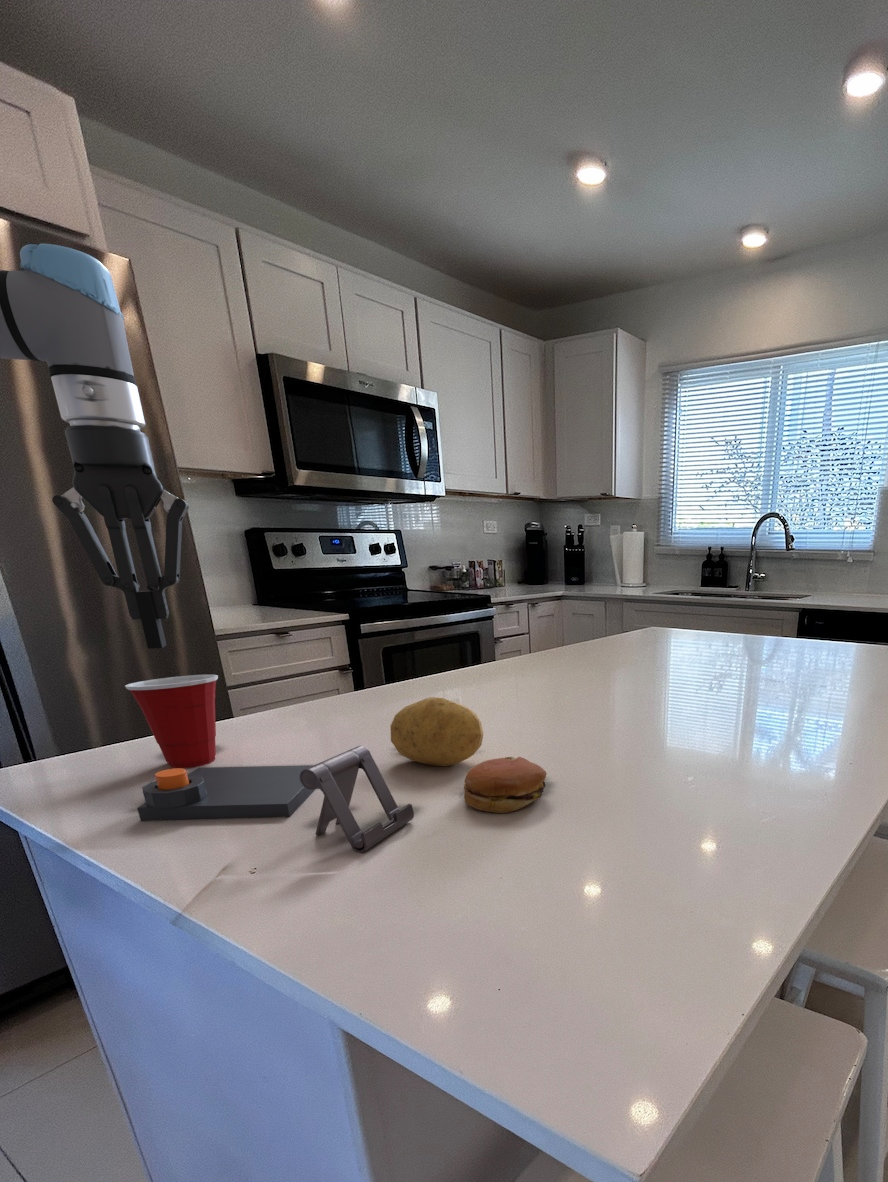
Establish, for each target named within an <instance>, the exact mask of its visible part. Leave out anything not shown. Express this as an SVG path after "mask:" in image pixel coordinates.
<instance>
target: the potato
mask: <svg viewBox="0 0 888 1182" xmlns="http://www.w3.org/2000/svg"><path fill="white" fill-rule="evenodd" d="M482 724H483V723H482V721H481V720H480V718H479V716H478V715H477V713H476V712H474V711H473V710H472V709H470V708H469V707H468V706H465V705H463V704H460V703H458V702H455V701H452V700H449V699H447V698H444V697H433V696H431V697H427V698H424V699H421V700H419V701H415V702H413V703H411V704H408V705H406V706H404V707H403V708H401V709H400V710H399V711H398V712H397V713H395V715H394V718H392V721H391V723H390V742H391V743H392V745H393V746H394V748H395V749H396V751H397V752H398V754H399V755H401V756H403V757H404V758H406V759H408V760H410V761H414V762H417V763H420V764H425V765H429V766H435V767H451V766H454V765H457V764H459V763H461V762H462V763H463V762H464V761H466V760H468V759H470V758H471V757H473V756H474V755H475V754H476V753H477V751H478V750H479V749H480V748H481V746H482V745H483V739H484V731H483V725H482Z"/></svg>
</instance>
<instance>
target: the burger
mask: <svg viewBox="0 0 888 1182" xmlns="http://www.w3.org/2000/svg"><path fill="white" fill-rule="evenodd" d="M547 775H548V773H547V771H546V770H545V769H544V768H543V767H542V766H540V765H539V764H537V763H535V762H531V761H530V760H528V759H526V758H524V757H522V756H517V757H515V756H505V757H499V758H493V759H488V760H484V761H482V762H480V763H477V764H476V765H474V766H472V767H471V768H469V771H468V772H466V775H465V777H464V783H463V792H464V795H463V796H464V797H463V798H464V802H465V804H467V805H468V806H469V807H471V808H474V809H476V810H479V811H483V812H490V813H491V812H492V813H495V814H497V813H498V814H506V813H510V812H511V813H512V812H515V811H518V810H521V809H523V808H524V807H526V806H528V805H530V804H531V803H534V802H535V801H537V800H539V799H540V798H541V797H542V795H543V792H545V791H544V789H545V788H546V786H547V784H546V781H545V780H546V777H547Z"/></svg>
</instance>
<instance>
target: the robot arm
mask: <svg viewBox="0 0 888 1182" xmlns="http://www.w3.org/2000/svg"><path fill="white" fill-rule="evenodd" d="M19 258H20V263H19V266H20V270H15V269H13V270H12V269H11V270H7V269H1V270H0V359H3V360H19V361H20V360H21V361H33V362H46V363H47V366H48V371H49V375H50V380H51V383H52V387H53V390H54V394H55V398H56V402H57V406H58V410H59V414H60V418H61V419H62V420H63V421H64V422H65V423H68V424H69V426H66V429H64V434H65V438H66V442H67V446H68V450H69V453H70V457H71V461H72V462H71V463H72V466H73V469H74V470H73V471H74V473H73V478H72V482H71V483H72V484H71V485H72V487H71V488H70V489H68V490H67V491H65V492H64V493H63V494H61V495H59V494H57V495H56V494H55V495H53V496H52V498H51V500H52V501H51V502H52V503H53V505H54V506H55V507H56V508H57V509H58V510H59V511H60V512H61V513H62V514H63V515H64V516H65V517H66V518H67V519H68V521H69V523H70V525H71V526H72V528H73V530H74V532H75V534H76V536H77V537H78V540H79V541H80V543H81V545H82V547H83V549H84V551H85V553H86V554H87V557H88V558H89V560H90V562H91V564H92V565H93V568H94V570H95V572H96V573H97V576H98V577H99V579H100V581H101V582H102V584H103V585H105V586H107V587H113V588H115V589H119V590H121V591H122V593H123V594H124V598H125V602H126V605H127V606H126V607H127V610H128V614H129V616H130V618H131V619H132V620H133V621H134V620H140V621H141V625H142V630H143V634H144V639H145V642H146V646H147V649H151V650H152V649H163V648H165V647H167V640H166V637H165V632H164V628H163V624H162V619H163V620H164V619H165V620H166V619H169V615H170V611H169V606H168V602H167V597H166V593H165V591H166V589H167V588H169V587H171V586H175V585H177V584H178V583H180V577H181V559H182V558H181V557H182V539H183V537H182V535H183V521H184V519H185V518H186V517H185V516H186V514H187V513H188V511H189V509H190V504H189V503H188V501H187V500H185V499H182V498H179V497H177V496H175V495H174V494H172V493H170V492H169V491H167V490H166V489H165V487H164V483H163V482H162V481H161V480H160V478H159V477H158V475H157V472H156V467H155V463H154V458H153V454H152V449H151V444H150V441H149V436H147V435H146V433H144V432H143V431H141V429H144V428H145V427H146V421H145V417H144V412H143V407H142V402H141V398H140V394H139V388H138V385H137V381H136V378H135V374H134V369H133V363H132V358H131V354H130V349H129V344H128V339H127V332H126V327H125V316H124V314H123V313H122V311H121V308H120V307H121V306H120V305H119V301H118V300H119V299H118V297H117V293H116V289H115V285H114V282H113V278H112V275H111V272H110V270H109V269H108V268H107V267H106V266H105V265H103V263H102V262H101V261H100V260H99V259H97V258H95V257H94V256H92V255H90V254H88V253H86V252H83V251H81V250H77V249H74V248H71V247H67V246H62V245H59V244H52V243H39V244H34V243H29V244H26V245H23V246H22V247H21V249H20V251H19ZM83 499H84V501H86V502H87V503H88V504H89V505H90V507H92V508H93V509H94V510H95V511H96V512H97V513H98V514H99V515H100V516H102V517H103V521H104V525H105V527H106V529H107V532H108V537H109V540H110V545H111V548H112V549H111V550H112V553H113V558H114V562H115V565H116V569H117V572H116V570H115V568H114V566H113V564H112V562H111V560H110V558H109V556H108V554H107V553H106V550H105V549H104V547H103V545H102V543H101V541H100V539H99V537H98V535H97V534H96V532H95V530H94V527H93V526H92V524H91V522H90V520H89V518H88V517H87V515H86V514H85V512H84V511H85V509H86V506H85V503H84V502H83ZM161 501H162V502H163V505H162V506H163V510H164V512H166V513H167V516H166V521H165V523H166V524H165V545H164V569H163V570H164V571H163V576H162V571H161V567H160V563H159V559H158V554H157V549H156V545H155V540H154V537H153V532H152V523H151V520H150V518H152V516H153V514H154V513H155V511H156V509H157V507H158V505H159V504H160V502H161ZM125 520H130V521H131V525H132V528H133V530H134V535H135V538H136V542H137V547H138V551H139V556H140V560H141V563H142V567H143V572H144V576H145V580H146V586H145V587H146V588H147V590H139V589H140V587H141V585H140V584H139V582H138V577H137V573H136V569H135V565H134V560H133V556H132V552H131V547H130V543H129V539H128V536H127V535H128V534H127V530H126V529H127V527H126V522H125ZM117 573H118V574H117Z"/></svg>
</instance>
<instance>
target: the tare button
mask: <svg viewBox="0 0 888 1182" xmlns="http://www.w3.org/2000/svg"><path fill="white" fill-rule="evenodd" d="M187 775H188V772H187V769H186V768H168V769H164V770H160V771H157V772H155V774H154V777H155V781H157V785H158V789H160V790H166V789H175V788H180V787H184V786H187V785H189V780H188V776H187Z"/></svg>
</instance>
